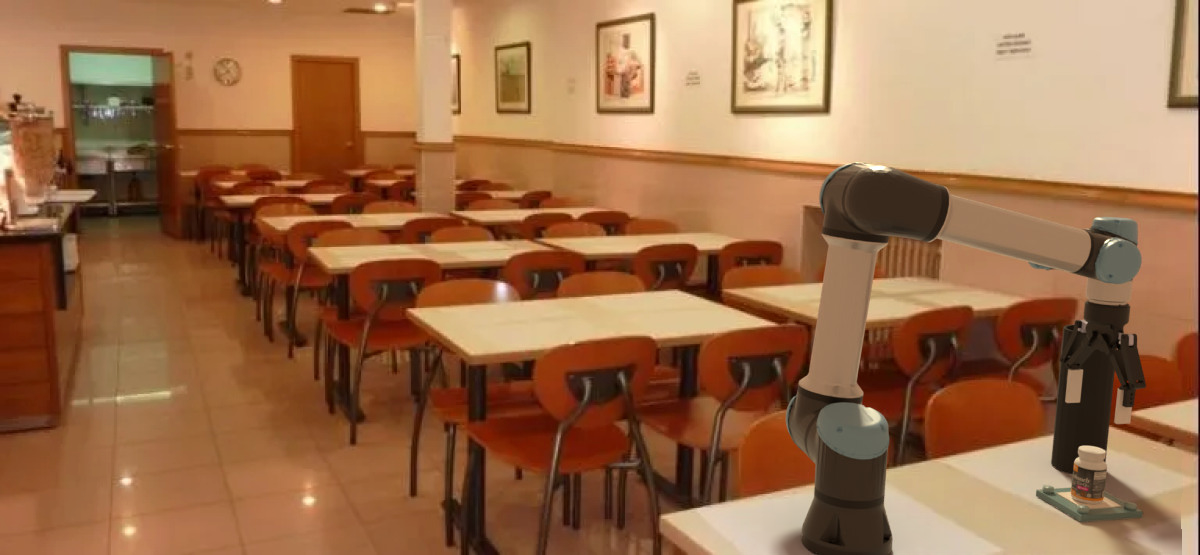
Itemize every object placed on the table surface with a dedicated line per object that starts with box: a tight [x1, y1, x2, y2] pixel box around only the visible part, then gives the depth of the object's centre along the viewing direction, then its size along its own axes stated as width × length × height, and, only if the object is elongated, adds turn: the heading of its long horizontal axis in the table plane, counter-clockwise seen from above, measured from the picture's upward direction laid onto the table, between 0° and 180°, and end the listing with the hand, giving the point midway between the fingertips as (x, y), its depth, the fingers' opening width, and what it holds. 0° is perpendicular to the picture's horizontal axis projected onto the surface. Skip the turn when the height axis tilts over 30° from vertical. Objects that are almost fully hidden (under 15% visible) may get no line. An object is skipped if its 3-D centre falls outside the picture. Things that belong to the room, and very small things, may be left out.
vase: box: [1050, 324, 1118, 475], centre depth 207 cm, size 10×10×30 cm
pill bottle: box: [1070, 446, 1108, 504], centre depth 186 cm, size 6×6×10 cm
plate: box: [1035, 484, 1144, 523], centre depth 187 cm, size 13×13×2 cm
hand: (1096, 412), depth 185 cm, fingers open, 13 cm apart
